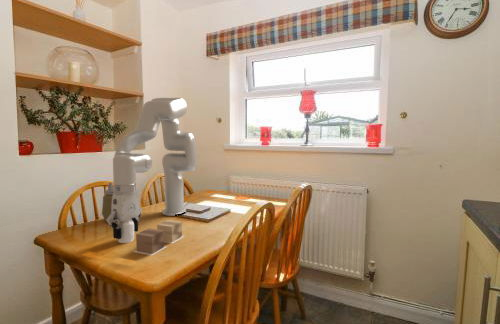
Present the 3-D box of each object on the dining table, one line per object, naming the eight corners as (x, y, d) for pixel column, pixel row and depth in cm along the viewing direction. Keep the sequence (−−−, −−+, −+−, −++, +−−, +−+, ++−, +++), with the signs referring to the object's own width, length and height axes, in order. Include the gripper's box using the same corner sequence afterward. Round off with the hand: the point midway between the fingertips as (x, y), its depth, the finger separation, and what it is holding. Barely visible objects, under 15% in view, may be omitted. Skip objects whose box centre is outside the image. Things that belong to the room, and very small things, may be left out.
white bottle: (116, 211, 105) (132, 209, 108) (117, 242, 106) (133, 239, 109) (118, 215, 100) (135, 213, 103) (119, 247, 101) (136, 244, 104)
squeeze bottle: (102, 218, 136) (101, 182, 134) (121, 217, 139) (120, 181, 137) (101, 223, 128) (99, 184, 127) (120, 221, 131) (119, 183, 130)
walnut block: (149, 244, 102) (149, 228, 101) (164, 246, 99) (164, 230, 99) (136, 251, 95) (136, 234, 95) (152, 254, 93) (151, 236, 93)
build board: (163, 234, 115) (163, 231, 115) (193, 239, 111) (193, 235, 110) (123, 255, 95) (122, 252, 95) (157, 262, 90) (157, 258, 90)
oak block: (168, 234, 112) (167, 219, 111) (182, 236, 110) (181, 221, 109) (157, 240, 106) (157, 224, 105) (172, 242, 103) (171, 226, 103)
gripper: (114, 193, 94) (115, 244, 96) (149, 185, 110) (150, 228, 112) (97, 192, 97) (99, 241, 98) (134, 184, 113) (135, 226, 115)
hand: (126, 234), depth 105 cm, fingers open, 7 cm apart
